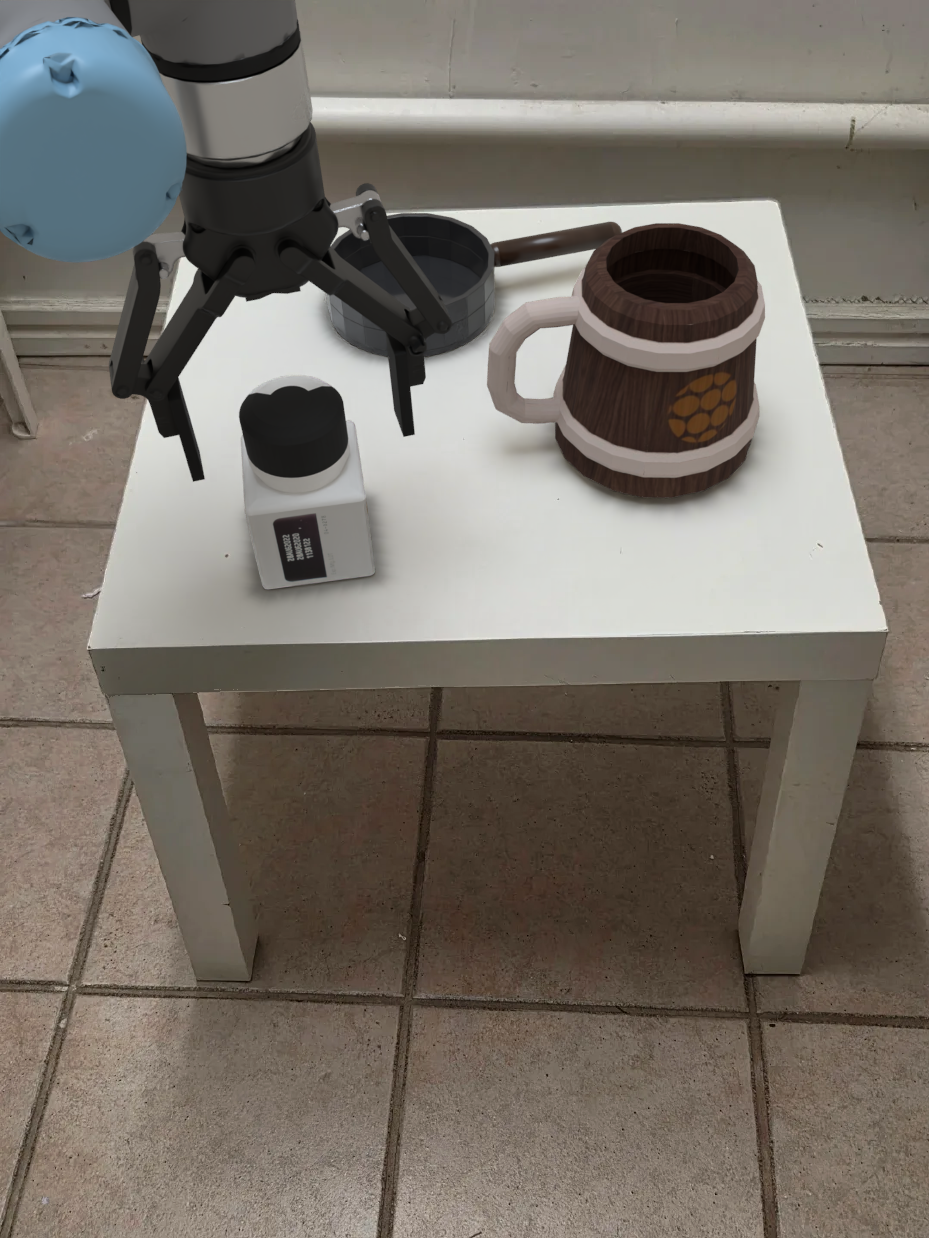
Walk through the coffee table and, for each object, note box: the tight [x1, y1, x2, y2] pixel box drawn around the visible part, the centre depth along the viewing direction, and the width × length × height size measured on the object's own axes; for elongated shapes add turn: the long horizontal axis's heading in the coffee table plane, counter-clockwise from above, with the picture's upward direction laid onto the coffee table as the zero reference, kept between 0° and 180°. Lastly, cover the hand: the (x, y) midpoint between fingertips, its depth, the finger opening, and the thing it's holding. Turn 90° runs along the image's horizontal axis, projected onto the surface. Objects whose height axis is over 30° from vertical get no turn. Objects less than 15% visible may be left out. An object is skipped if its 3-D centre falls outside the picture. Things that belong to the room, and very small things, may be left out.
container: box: [238, 374, 376, 590], centre depth 79 cm, size 8×8×13 cm
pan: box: [325, 212, 496, 358], centre depth 99 cm, size 14×14×4 cm
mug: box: [486, 222, 766, 499], centre depth 84 cm, size 20×15×15 cm
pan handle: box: [490, 221, 623, 268], centre depth 100 cm, size 12×2×2 cm, turn 105°
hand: (301, 444), depth 77 cm, fingers open, 13 cm apart
